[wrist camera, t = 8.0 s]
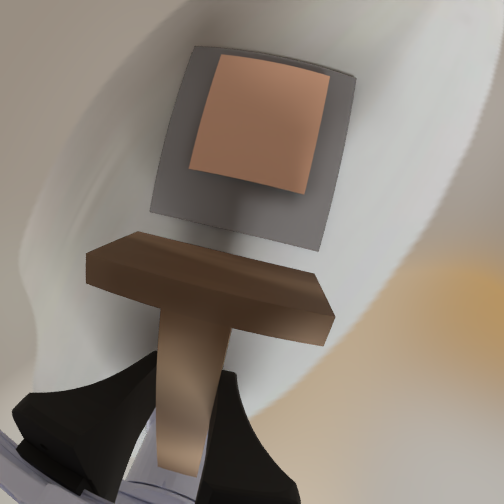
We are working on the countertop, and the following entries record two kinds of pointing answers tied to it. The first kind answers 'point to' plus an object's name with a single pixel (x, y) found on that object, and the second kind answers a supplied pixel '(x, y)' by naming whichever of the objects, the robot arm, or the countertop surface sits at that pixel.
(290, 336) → the wooden t-shaped piece
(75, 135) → the countertop surface
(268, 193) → the mat
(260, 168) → the tile
